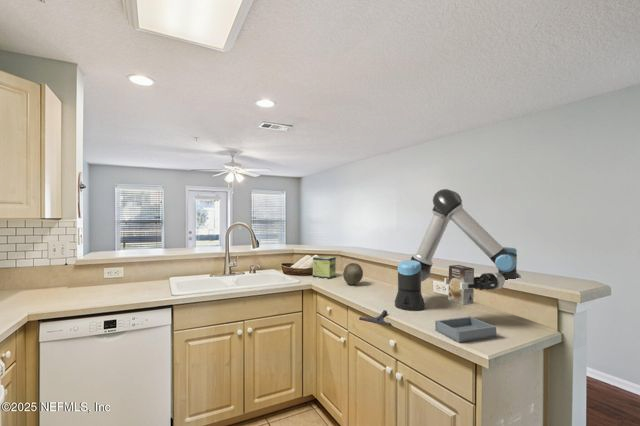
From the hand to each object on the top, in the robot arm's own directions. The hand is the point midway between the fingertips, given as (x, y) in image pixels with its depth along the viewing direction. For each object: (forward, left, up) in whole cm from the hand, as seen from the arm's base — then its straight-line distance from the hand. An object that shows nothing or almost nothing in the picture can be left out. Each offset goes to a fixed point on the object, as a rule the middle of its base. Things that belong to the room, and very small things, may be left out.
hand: (452, 283), depth 135 cm
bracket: (-14, -29, -18) cm, 37 cm away
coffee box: (0, +4, -9) cm, 10 cm away
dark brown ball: (-82, -12, -17) cm, 85 cm away
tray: (+13, -6, -17) cm, 22 cm away
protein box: (-115, -22, -17) cm, 118 cm away
